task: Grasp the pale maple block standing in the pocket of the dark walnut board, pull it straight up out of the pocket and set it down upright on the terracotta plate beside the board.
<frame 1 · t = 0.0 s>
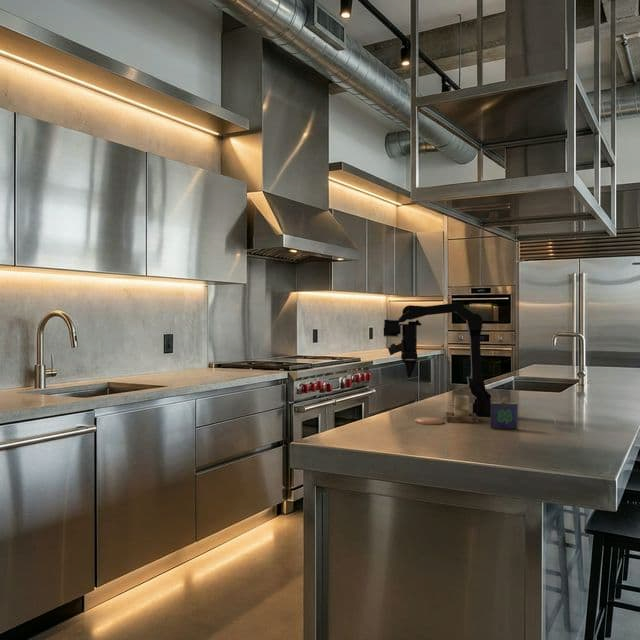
hand: (409, 376, 247), 15 cm above the countertop, fingers open, 9 cm apart
terracotta plate: (429, 422, 225), on the countertop
maple block: (461, 408, 231), in the pocket board
pocket board: (461, 420, 231), on the countertop
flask: (504, 429, 213), on the countertop
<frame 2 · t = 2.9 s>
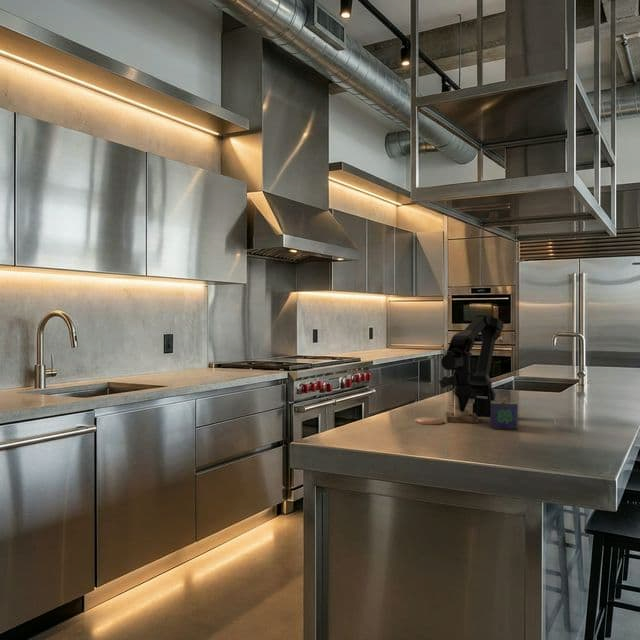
hand: (461, 410, 231), 4 cm above the countertop, fingers closed on maple block, 4 cm apart
maple block: (461, 408, 231), in the pocket board, touching gripper
everything else where it was.
when the fingers open (5 cm above the countertop, at t = 7.0 s): maple block stays where it is, resting on terracotta plate.
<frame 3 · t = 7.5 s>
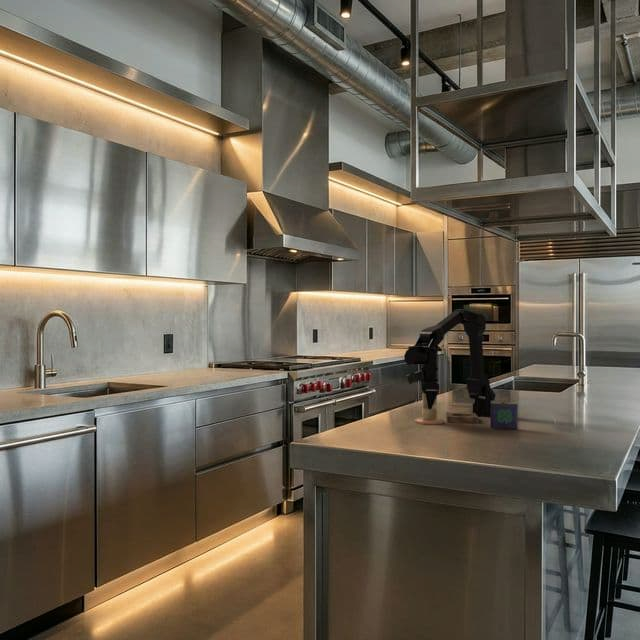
hand: (429, 407, 225), 5 cm above the countertop, fingers open, 9 cm apart
maple block: (429, 407, 226), on the terracotta plate, point 6 cm above the countertop
everything else where it was.
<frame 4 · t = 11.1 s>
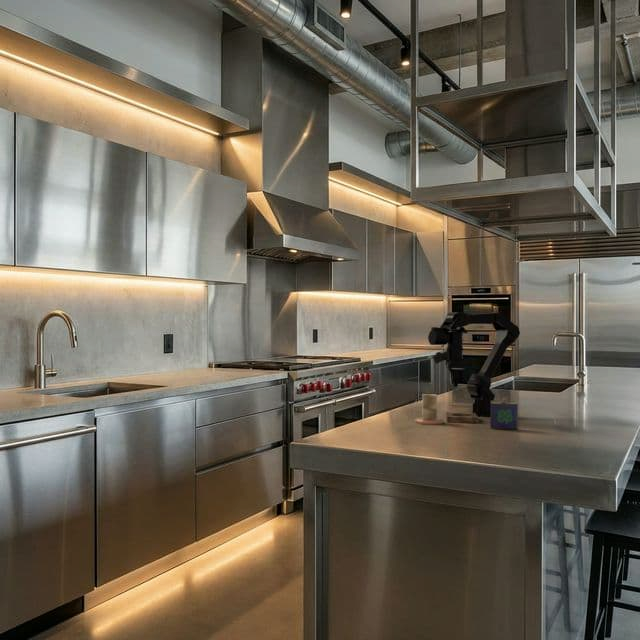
hand: (454, 385, 239), 12 cm above the countertop, fingers open, 9 cm apart
nothing on the countertop moved.
at the end: maple block 0.1 cm off-centre on the terracotta plate, point 5.5 cm above the terracotta plate's base; maple block tilted 0°; the gripper is holding nothing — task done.
